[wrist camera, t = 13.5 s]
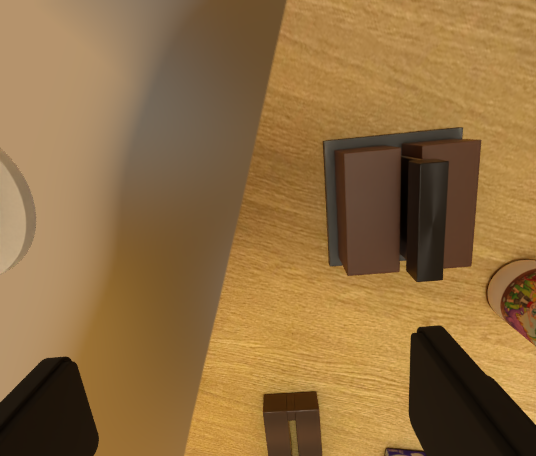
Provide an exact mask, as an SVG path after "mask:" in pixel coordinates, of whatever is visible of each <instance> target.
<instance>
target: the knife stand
mask: <svg viewBox="0 0 536 456" xmlns="http://www.w3.org/2000/svg"><path fill="white" fill-rule="evenodd" d="M263 417H264V425H265V433H266V441H267V449H268V456H292V447H291V437H290V427H289V421H292V420H296V428H297V439H298V450H299V456H322V446H321V431H320V416H319V406H318V399H317V393H316V392H301V393H283V394H267V395H264V402H263Z"/></svg>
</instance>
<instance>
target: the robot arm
mask: <svg viewBox="0 0 536 456" xmlns="http://www.w3.org/2000/svg"><path fill="white" fill-rule="evenodd" d="M409 418H410V422H411V425H412V427H413V429H414V431H415V433H416V435H417V438H418V440H419V442H420V444H421V446H422V448H423V450H424V452H425V454H426V456H536V425H535V424H534V423H533V421H532V420H531V419H530V418H529V417H528V416H527V415H526V414H525V413H524V412H523V410H522V409H521V408H520V407H519V406H518V405H517V404H516V403H515V402H514V401H513V400H512V398H511V397H510V396H509V395H508V394H507V393H506V392H505V391H504V390H503V389H502V388H501V386H500V385H499V384H498V383H497V382H496V381H495V380H494V379H493V378H491V377H490V376H488V375H486V374H485V373H484V372H483V371H482V370H481V369H480V368H479V366H478V365H477V364H476V363H475V362H474V361H473V360H472V359H471V358H470V356H469V355H468V354H467V353H466V352H465V351H464V350H463V349H462V348H461V346H460V345H459V344H458V343H457V342H456V341H455V340H454V339H453V338H452V336H451V335H450V334H449V333H448V332H447V331H446V330H445V329H444V328H443V327H442V326H427V327H419V328H418V329H417V333H413V334H412V335H411V349H410V384H409ZM98 441H99V436H98V432H97V429H96V426H95V422H94V419H93V416H92V412H91V409H90V406H89V403H88V400H87V396H86V393H85V390H84V386H83V383H82V380H81V376H80V373H79V370H78V366H77V364H76V363H75V362H72V361H71V359H70V358H69V357H55V358H46V359H44V360H42V361H41V362H40V363H39V364H38V365H37V366H36V367H35V368H34V369H33V370H32V371H31V372H30V373H29V374H28V375H27V376H26V377H25V378H24V379H23V380H22V381H21V382H20V383H19V384H18V385H17V386H16V387H15V388H14V389H13V390H12V392H10V394H8V395H7V396H6V398H4V399H3V400H2V401H1V402H0V456H94V454H95V452H96V450H97V447H98Z"/></svg>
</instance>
